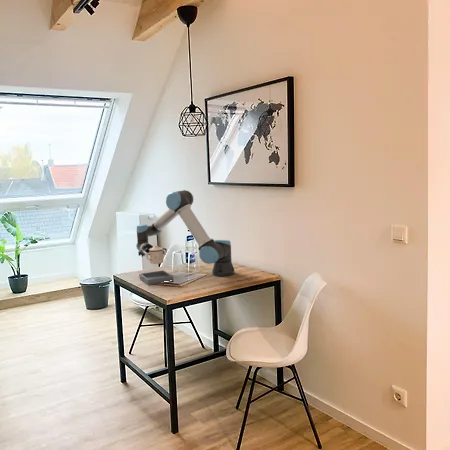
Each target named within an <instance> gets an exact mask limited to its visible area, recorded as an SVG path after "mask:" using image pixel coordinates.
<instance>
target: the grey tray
mask: <svg viewBox="0 0 450 450" xmlns="http://www.w3.org/2000/svg"><path fill="white" fill-rule="evenodd" d="M138 276H139V280H140V281H141V282H143V284H145V285H147V286H152V285H159V284H162V283H161V282H164V281H170V280H174V275H172V274H170V273H169V272H167V271H166V270H163V269H162V270H157V271H148V272H143V273H139V275H138Z"/></svg>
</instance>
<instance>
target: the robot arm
mask: <svg viewBox="0 0 450 450" xmlns="http://www.w3.org/2000/svg"><path fill="white" fill-rule="evenodd" d="M193 203H194V195H193V193H192V192H190V191H189V190H185V189H183V190H178V191H176V190H175V191H171V192H169V193H168V194H167V196H166V199H165V204H166V207H167V208H168V209H167V210H166V211H165V212H164V213H163V214H161V215H160V216H159V217H158V218H157V219H156V220H155V221H154V222H152V224H151V225H148V224H146V223H145V224H144V223H143V224H137V225H136V237H137V238H136V239H137V242H136V249H137V250H138V256H139V257H140V256H141V257H142V258H143V257H147V253H150V251H149V249H151V248H153V247H154V246H153V245H152V244H150V243H149V237H154V236H157V235H159V234H161V233H162V230H163V229H164V228H165V227H167V225H169V224H170V223H171V222H172V221H173V220H174V219H175V218H176V217H178V216H179V218H180V219H181V220H182V221H183V223H184V225H185V226H186V228H187V229H188V230H189V232H190V234H191V236H192V237H193V239H194V240H195V242H196V244H197V245H198V247H197V249H198V251H199V259H200V260H201V262H203V263H204V264H208V265H211V264H213V267H212V270H211V271H212V272H211V273H212V275H213V276H215V277H228V276H233V275H234V274H235V273H236V272H235V268H234V265H233V263H232V244H231V240H227V239H213V238H210V236H209V234H208V233H207V231H206V230H205V228H204V227H203V225H202V224H201V222H200V221H199V219H198V218H197V216H196V214H195V213H194V212H193V210H192V209H191V207H192V205H193ZM162 248H163V256H166V255H167V248H164V247H162ZM148 256H150V254H148Z"/></svg>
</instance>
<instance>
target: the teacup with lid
mask: <svg viewBox="0 0 450 450" xmlns="http://www.w3.org/2000/svg"><path fill="white" fill-rule="evenodd" d="M163 248H164V247H160V246H158V245H157V244H155V245H154V246H153V248H151V249H149V251H150V253H147V257H146V260H147V261H149V262H150V264H152V265H158V264H163V263H164V261H165V260H164V254H163ZM148 254H150V255H148Z"/></svg>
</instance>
